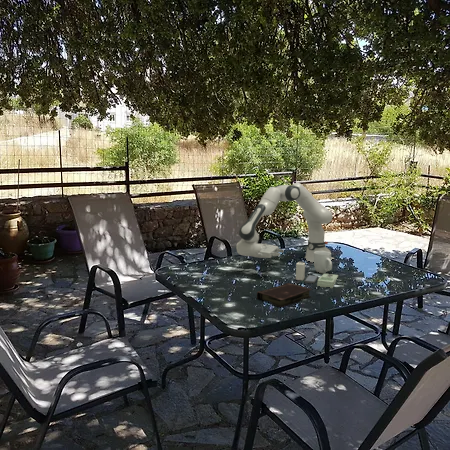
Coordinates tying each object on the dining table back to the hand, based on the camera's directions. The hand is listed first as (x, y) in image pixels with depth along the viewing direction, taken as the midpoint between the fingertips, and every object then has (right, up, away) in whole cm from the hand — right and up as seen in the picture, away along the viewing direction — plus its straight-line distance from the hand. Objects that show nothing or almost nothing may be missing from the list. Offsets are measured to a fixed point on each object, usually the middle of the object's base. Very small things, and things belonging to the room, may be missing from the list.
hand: (281, 252), depth 277 cm
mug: (+29, -14, +13) cm, 34 cm away
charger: (+11, -16, -2) cm, 20 cm away
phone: (+18, -17, -4) cm, 25 cm away
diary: (-3, -23, -36) cm, 43 cm away
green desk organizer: (+27, -17, -8) cm, 33 cm away
